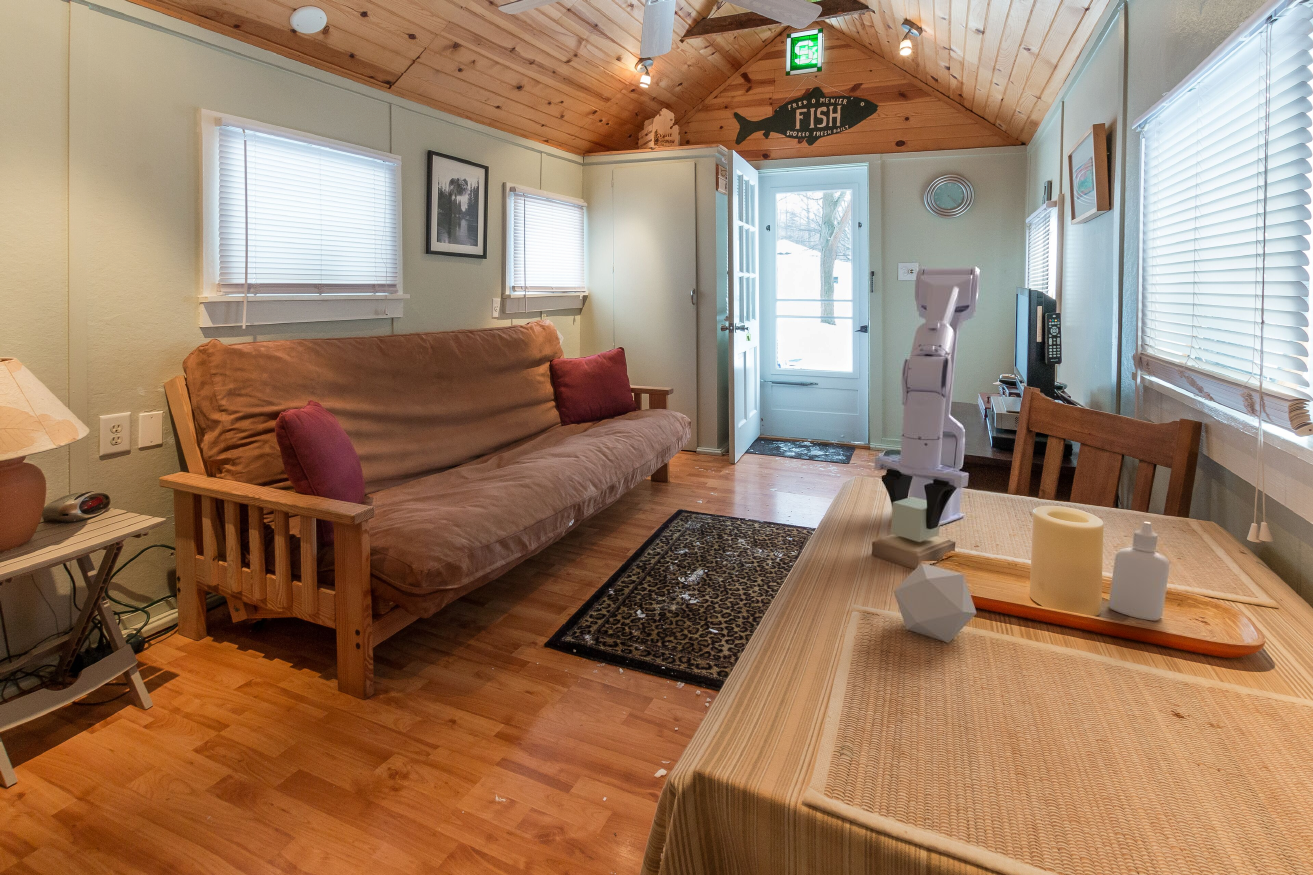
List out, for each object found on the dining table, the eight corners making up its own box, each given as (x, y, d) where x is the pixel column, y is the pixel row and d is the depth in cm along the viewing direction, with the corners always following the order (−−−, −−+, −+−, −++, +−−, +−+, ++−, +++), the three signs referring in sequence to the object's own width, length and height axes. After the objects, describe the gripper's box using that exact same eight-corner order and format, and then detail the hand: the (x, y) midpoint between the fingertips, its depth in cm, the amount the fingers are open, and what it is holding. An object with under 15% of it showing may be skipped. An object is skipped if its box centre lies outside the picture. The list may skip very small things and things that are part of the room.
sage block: (909, 527, 114) (911, 496, 113) (938, 535, 110) (940, 503, 109) (890, 533, 111) (892, 502, 110) (919, 541, 107) (921, 509, 106)
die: (984, 638, 86) (956, 560, 90) (986, 631, 78) (955, 547, 82) (915, 653, 88) (890, 576, 92) (910, 648, 81) (884, 565, 85)
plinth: (908, 541, 117) (909, 526, 117) (954, 555, 111) (955, 539, 110) (871, 554, 111) (872, 539, 111) (917, 570, 105) (919, 553, 104)
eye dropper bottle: (1128, 601, 94) (1140, 514, 92) (1168, 620, 89) (1182, 528, 87) (1101, 605, 93) (1113, 517, 91) (1141, 624, 88) (1155, 531, 85)
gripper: (864, 432, 110) (859, 516, 113) (952, 447, 99) (945, 541, 102) (891, 426, 115) (886, 508, 117) (979, 441, 103) (970, 531, 106)
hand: (915, 523), depth 110 cm, fingers closed on sage block, 5 cm apart
